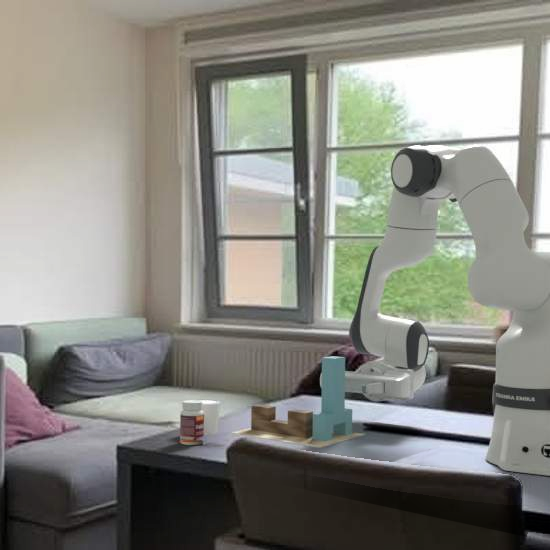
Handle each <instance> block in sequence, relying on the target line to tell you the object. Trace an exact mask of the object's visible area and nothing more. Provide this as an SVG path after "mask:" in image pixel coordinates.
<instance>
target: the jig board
mask: <svg viewBox="0 0 550 550" xmlns="http://www.w3.org/2000/svg"><path fill="white" fill-rule="evenodd" d="M276 408H277V406H274V405H268V404H260V403H259V404H254V405H253V404H252V405H251V408H250V409H251V412H250V413H251V414H250V415H251V417H250V418H251V419H250V420H251V423H250V428H243V429H241V430H236V431H231V433H232V434H235V435H236V434H237V435H242V436H248V437H255V438H259V439H266V440H271V441H272V440H273V441H277V442H284V443H290V444H295V445H301V446H306V447H312V448H318V449H319V448H320V449H321V448H325V447H328V446H331V445H335V444H339V443H341V442H345V441H349V440H352V439H355V438H359V437H363V436H366V435H367V434H366V433H363V432H362V433H361V432H356V431H355V432H354V431H352V434H349V435H339V434H333V428H332V439H331V440H328V441H321V440H314V439H313V414H314V411H311V410H303V409H297V408H294V409H289V410H287V420H280V419H276V416H277V413H276V411H277V409H276Z"/></svg>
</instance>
